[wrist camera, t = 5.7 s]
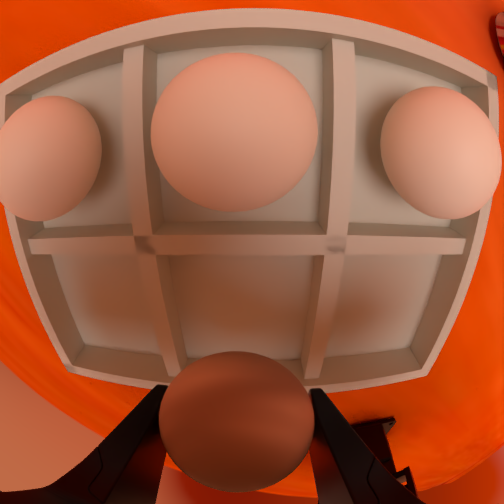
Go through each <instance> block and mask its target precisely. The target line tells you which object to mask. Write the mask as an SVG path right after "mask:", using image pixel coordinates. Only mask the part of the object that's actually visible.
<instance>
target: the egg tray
mask: <svg viewBox="0 0 504 504" xmlns="http://www.w3.org/2000/svg"><path fill="white" fill-rule="evenodd" d="M224 53H247V54H254V55H258V56H261V57H264V58H267V59H269V60H271V61H274V62H276V63H277V64H279V65H281V66H282V67H284V68H285V69H287V70H288V71H289V72H290V73H292V74H293V75H294V76H295V77H296V78H297V79H298V81H299V82H300V83H301V84H302V85H303V87H304V88H305V90H306V91H307V93H308V95H309V97H310V99H311V101H312V103H313V106H314V109H315V112H316V118H317V125H318V137H317V145H316V149H315V154H314V156H313V159H312V162H311V164H310V166H309V168H308V169H307V171H306V173H305V174H304V176H303V177H302V179H301V180H300V181H299V182H298V183H297V184H296V186H295V187H294V188H293V189H292V190H290V191H289V192H288V193H287V194H285V195H284V196H283V197H281V198H280V199H278V200H276V201H275V202H273V203H270V204H268V205H266V206H263V207H260V208H257V209H254V210H248V211H241V212H224V211H218V210H212V209H209V208H206V207H203V206H201V205H198V204H196V203H194V202H192V201H190V200H189V199H187V198H185V197H184V196H183V195H181V194H180V193H179V192H178V191H176V190H175V189H174V188H173V187H172V186H171V185H170V184H169V182H168V181H167V180H166V178H165V177H164V176H163V174H162V173H161V171H160V169H159V167H158V165H157V163H156V160H155V158H154V154H153V150H152V145H151V122H152V116H153V113H154V110H155V106H156V104H157V102H158V100H159V98H160V96H161V94H162V93H163V91H164V89H165V88H166V87H167V85H168V84H169V83H170V82H171V80H172V79H173V78H174V77H176V76H177V75H178V74H179V73H180V72H181V71H183V70H184V69H185V68H187V67H188V66H190V65H192V64H193V63H195V62H197V61H199V60H202V59H204V58H207V57H210V56H214V55H218V54H224ZM430 86H437V87H444V88H448V89H451V90H454V91H457V92H459V93H461V94H463V95H465V96H466V97H467V98H469V99H470V100H472V101H473V102H474V103H475V104H476V105H477V106H478V107H479V108H480V109H481V110H482V111H483V112H484V113H485V115H486V116H487V117H488V119H489V120H490V122H491V124H492V126H493V128H494V130H495V132H496V134H497V137H498V139H499V105H498V88H497V77H496V76H495V75H493V74H492V73H490V72H489V71H487V70H485V69H484V68H482V67H480V66H478V65H476V64H475V63H473V62H471V61H469V60H467V59H465V58H463V57H461V56H459V55H457V54H455V53H453V52H451V51H449V50H447V49H445V48H442V47H440V46H438V45H435V44H433V43H431V42H428V41H426V40H423V39H421V38H418V37H415V36H412V35H410V34H407V33H404V32H401V31H398V30H395V29H391V28H388V27H385V26H381V25H377V24H374V23H370V22H366V21H362V20H357V19H353V18H348V17H343V16H337V15H331V14H325V13H318V12H310V11H300V10H288V9H268V8H241V9H221V10H209V11H199V12H191V13H184V14H178V15H172V16H167V17H161V18H156V19H152V20H147V21H143V22H139V23H135V24H132V25H128V26H124V27H121V28H118V29H114V30H111V31H108V32H105V33H102V34H99V35H96V36H94V37H91V38H88V39H86V40H83V41H81V42H78V43H76V44H73V45H71V46H69V47H66V48H64V49H62V50H60V51H58V52H55V53H53V54H51V55H49V56H47V57H45V58H43V59H41V60H40V61H38V62H36V63H34V64H32V65H30V66H29V67H27V68H25V69H23V70H22V71H20V72H18V73H17V74H15V75H13V76H12V77H10V78H9V79H7V80H6V81H4V82H3V83H1V84H0V130H1V128H2V127H3V125H4V124H5V122H6V121H7V120H8V119H9V117H10V116H11V115H12V114H13V113H14V112H15V111H16V110H18V109H19V108H20V107H22V106H23V105H25V104H26V103H28V102H30V101H32V100H34V99H37V98H41V97H45V96H63V97H67V98H70V99H72V100H74V101H76V102H78V103H80V104H81V105H82V106H84V107H85V108H86V109H87V110H88V111H89V112H90V114H91V115H92V117H93V118H94V120H95V122H96V124H97V126H98V129H99V132H100V136H101V143H102V156H101V163H100V168H99V171H98V174H97V177H96V179H95V182H94V184H93V185H92V187H91V189H90V190H89V192H88V193H87V195H86V196H85V198H84V199H83V200H82V201H81V202H80V203H79V204H78V205H77V206H76V207H75V208H73V209H72V210H71V211H69V212H68V213H66V214H64V215H62V216H60V217H58V218H55V219H52V220H48V221H29V220H25V219H22V218H20V217H18V216H16V215H14V214H12V213H11V212H10V211H9V210H8V209H6V208H5V206H4V208H5V213H6V217H7V222H8V226H9V230H10V234H11V238H12V242H13V246H14V249H15V253H16V256H17V259H18V262H19V266H20V269H21V272H22V274H23V277H24V280H25V283H26V286H27V288H28V291H29V293H30V296H31V298H32V301H33V303H34V306H35V308H36V310H37V313H38V315H39V317H40V319H41V322H42V324H43V326H44V328H45V330H46V332H47V334H48V336H49V338H50V340H51V342H52V344H53V346H54V348H55V350H56V351H57V353H58V355H59V357H60V359H61V360H62V362H63V364H64V366H65V367H66V369H67V371H68V372H72V373H75V374H79V375H83V376H87V377H91V378H95V379H99V380H104V381H109V382H113V383H118V384H124V385H129V386H135V387H141V388H147V389H153V388H154V387H155V386H156V385H157V384H161V385H167V386H169V385H170V383H171V382H172V381H173V379H174V378H175V377H176V376H177V375H178V374H179V373H180V372H181V371H182V370H183V369H185V368H186V367H187V366H188V365H190V364H191V363H193V362H195V361H197V360H199V359H201V358H203V357H205V356H208V355H212V354H215V353H220V352H227V351H244V352H251V353H256V354H259V355H262V356H265V357H268V358H270V359H272V360H275V361H276V362H278V363H280V364H281V365H283V366H284V367H286V368H287V369H288V370H290V371H291V372H292V373H293V374H294V375H295V376H296V377H297V379H298V380H299V381H300V382H301V384H302V385H303V387H304V388H305V390H306V391H307V393H308V391H309V389H311V388H321V389H322V390H323V391H324V392H325V393H331V392H340V391H348V390H356V389H362V388H369V387H375V386H381V385H386V384H391V383H396V382H401V381H406V380H410V379H414V378H419V377H423V376H427V374H428V372H429V371H430V369H431V367H432V365H433V364H434V362H435V360H436V358H437V356H438V354H439V353H440V351H441V349H442V347H443V345H444V343H445V341H446V339H447V337H448V335H449V333H450V331H451V328H452V326H453V324H454V322H455V320H456V317H457V315H458V313H459V310H460V308H461V306H462V303H463V301H464V298H465V295H466V293H467V290H468V287H469V285H470V282H471V279H472V276H473V273H474V270H475V267H476V264H477V261H478V257H479V254H480V250H481V247H482V243H483V239H484V235H485V231H486V227H487V223H488V218H489V213H490V208H491V203H492V197H493V195H492V197H491V198H490V200H489V201H488V202H487V203H486V204H485V205H484V206H483V207H482V208H481V209H479V210H478V211H477V212H475V213H473V214H471V215H469V216H467V217H463V218H459V219H439V218H434V217H431V216H428V215H426V214H424V213H422V212H420V211H418V210H416V209H415V208H413V207H412V206H411V205H410V204H408V203H407V202H406V201H405V200H404V199H403V198H402V197H401V196H400V195H399V194H398V192H397V191H396V190H395V188H394V187H393V185H392V184H391V182H390V180H389V178H388V176H387V174H386V172H385V169H384V166H383V162H382V157H381V149H380V139H381V131H382V126H383V123H384V120H385V117H386V115H387V114H388V112H389V110H390V109H391V107H392V106H393V105H394V103H395V102H396V101H397V100H398V99H399V98H401V97H402V96H403V95H405V94H406V93H408V92H410V91H412V90H415V89H418V88H422V87H430Z"/></svg>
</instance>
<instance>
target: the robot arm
mask: <svg viewBox="0 0 504 504" xmlns="http://www.w3.org/2000/svg"><path fill="white" fill-rule="evenodd" d="M167 388H168V386H167V385H161V384H157V385H156V386H155V387H154V388H153V389H152V390H151V391H150V392H149V393H148V394H147V395H146V396H145V397H144V398H143V399H142V401H141V402H140V403H139V404H138V405H137V406H136V407H135V408H134V409H133V410H132V411H131V412H130V413H129V414H128V415H127V416H126V417H125V418H124V419H123V420H122V422H121V423H120V424H119V425H118V426H117V427H116V428H115V429H114V430H113V431H112V432H111V433H110V434H109V435H108V436H107V437H106V438H105V439H104V440H103V441H102V442H101V443H100V444H99V446H98V447H96V448H95V449H94V451H92V452H91V453H90V454H89V455H88V456H87V457H86V458H85V459H84V460H83V461H82V462H81V463H79V464H78V465H77V466H75V468H73V469H72V470H70V471H69V472H68V473H66V474H65V475H64V476H62V477H61V478H59V479H58V480H57V481H55V482H54V483H52V484H51V485H49V486H46V487H43V488H38V489H31V490H23V491H12V492H2V491H0V504H155V503H156V498H157V493H158V488H159V483H160V479H161V474H162V470H163V466H164V461H165V457H166V452H167V451H166V449H165V447H164V445H163V442H162V439H161V435H160V428H159V411H160V406H161V402H162V399H163V396H164V394H165V392H166V390H167ZM308 395H309V398H310V400H311V403H312V406H313V410H314V420H315V427H314V435H313V439H312V442H311V446H310V448H309V452H310V457H311V462H312V467H313V473H314V478H315V483H316V489H317V494H318V504H426V503H424V502H422V501H421V500H420V499H419V497H418V493H417V489H416V485H415V482H414V479H413V475H412V472H411V470H410V468H409V466H408V467H406V468H404V470H401V471H399V472H396V468H395V465H394V461H393V458H392V453H391V450H390V447H389V443H388V440H387V437H386V434H387V433H388V432H389V430H390V429H391V428H392V427H393V425H394V424H395V423H396V420H395V418H390V419H386V420H381V421H377V422H372V423H367V424H362V425H356V426H351V425H350V424H349V423H348V422H347V420H346V419H345V418H344V416H343V415H342V414H341V413H340V411H339V410H338V409H337V408H336V406H335V405H334V404H333V402H332V401H331V400H330V399H329V397H328V396H327V395H326V393H325V392H324V391H323V390H322V389H321V388H311V389H309V391H308ZM406 481H407V484H406V485H404V486H403V485H402V484H401V483H403V482H406Z"/></svg>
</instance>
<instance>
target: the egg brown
mask: <svg viewBox="0 0 504 504" xmlns="http://www.w3.org/2000/svg"><path fill="white" fill-rule="evenodd" d="M314 427H315V420H314V410H313V406H312V403H311V400H310V398H309V395H308V393H307V391H306V390H305V388H304V387H303V385H302V384H301V382H300V381H299V380H298V379H297V377H296V376H295V375H294V374H293V373H292V372H291V371H290V370H288V369H287V368H286V367H284V366H283V365H281V364H280V363H278V362H276V361H275V360H272V359H270V358H268V357H265V356H262V355H259V354H256V353H251V352H244V351H227V352H220V353H215V354H212V355H208V356H205V357H203V358H201V359H199V360H197V361H195V362H193V363H191V364H190V365H188V366H187V367H186V368H185V369H183V370H182V371H181V372H180V373H179V374H178V375H177V376H176V377H175V378H174V379H173V381H172V382H171V383H170V385H169V386H168V388H167V390H166V392H165V394H164V396H163V399H162V402H161V406H160V411H159V428H160V435H161V439H162V442H163V445H164V447H165V449H166V451H167V453H168V454H169V456H170V458H171V459H172V460H173V462H174V463H175V464H176V465H177V466H178V467H179V468H180V469H181V470H182V471H183V472H184V473H185V474H187V475H188V476H189V477H191V478H192V479H193V480H195V481H197V482H199V483H201V484H203V485H205V486H208V487H210V488H214V489H217V490H221V491H227V492H248V491H254V490H259V489H263V488H266V487H268V486H271V485H273V484H275V483H277V482H279V481H281V480H282V479H284V478H285V477H287V476H288V475H289V474H290V473H292V472H293V471H294V470H295V469H296V468H297V467H298V465H299V464H300V463H301V462H302V460H303V459H304V457H305V456H306V454H307V452H308V450H309V448H310V446H311V442H312V439H313V435H314Z"/></svg>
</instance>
